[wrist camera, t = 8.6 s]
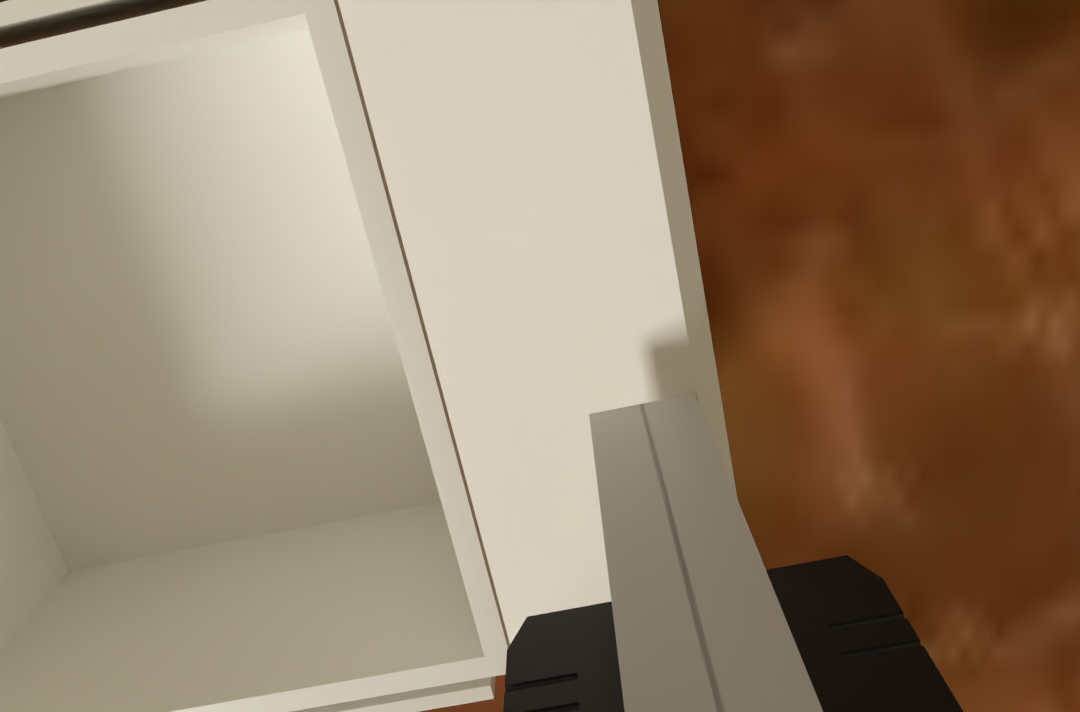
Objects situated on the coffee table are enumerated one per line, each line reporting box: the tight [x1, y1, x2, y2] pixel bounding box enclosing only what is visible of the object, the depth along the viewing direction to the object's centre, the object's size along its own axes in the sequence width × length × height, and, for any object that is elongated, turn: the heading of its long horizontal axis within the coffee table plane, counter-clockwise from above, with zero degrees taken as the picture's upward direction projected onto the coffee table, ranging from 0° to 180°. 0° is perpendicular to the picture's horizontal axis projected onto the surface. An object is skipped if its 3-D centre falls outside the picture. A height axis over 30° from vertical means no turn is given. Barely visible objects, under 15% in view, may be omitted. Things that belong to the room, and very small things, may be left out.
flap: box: [338, 0, 737, 644], centre depth 17 cm, size 8×16×1 cm
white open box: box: [0, 0, 510, 712], centre depth 25 cm, size 17×18×9 cm
